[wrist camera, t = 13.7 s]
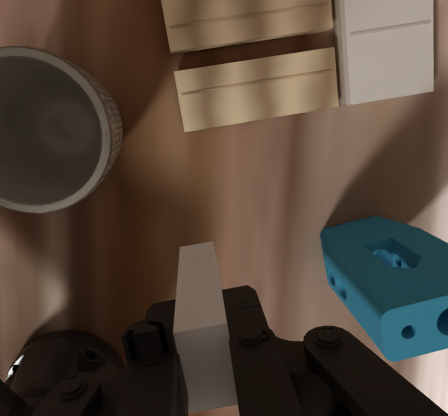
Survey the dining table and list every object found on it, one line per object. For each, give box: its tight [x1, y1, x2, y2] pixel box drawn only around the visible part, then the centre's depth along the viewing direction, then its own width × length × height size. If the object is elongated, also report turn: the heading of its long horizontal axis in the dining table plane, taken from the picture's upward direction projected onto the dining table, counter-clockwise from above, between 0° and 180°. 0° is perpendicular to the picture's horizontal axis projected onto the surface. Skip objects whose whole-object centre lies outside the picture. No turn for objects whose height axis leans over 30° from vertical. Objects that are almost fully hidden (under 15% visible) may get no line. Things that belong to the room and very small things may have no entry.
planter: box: [0, 46, 123, 213], centre depth 37 cm, size 14×14×13 cm
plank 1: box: [161, 0, 333, 54], centre depth 41 cm, size 18×6×2 cm, turn 98°
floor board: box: [332, 0, 434, 106], centre depth 43 cm, size 11×15×2 cm
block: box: [320, 216, 448, 361], centre depth 41 cm, size 12×5×20 cm, turn 102°
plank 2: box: [174, 47, 339, 132], centre depth 43 cm, size 18×6×2 cm, turn 98°
